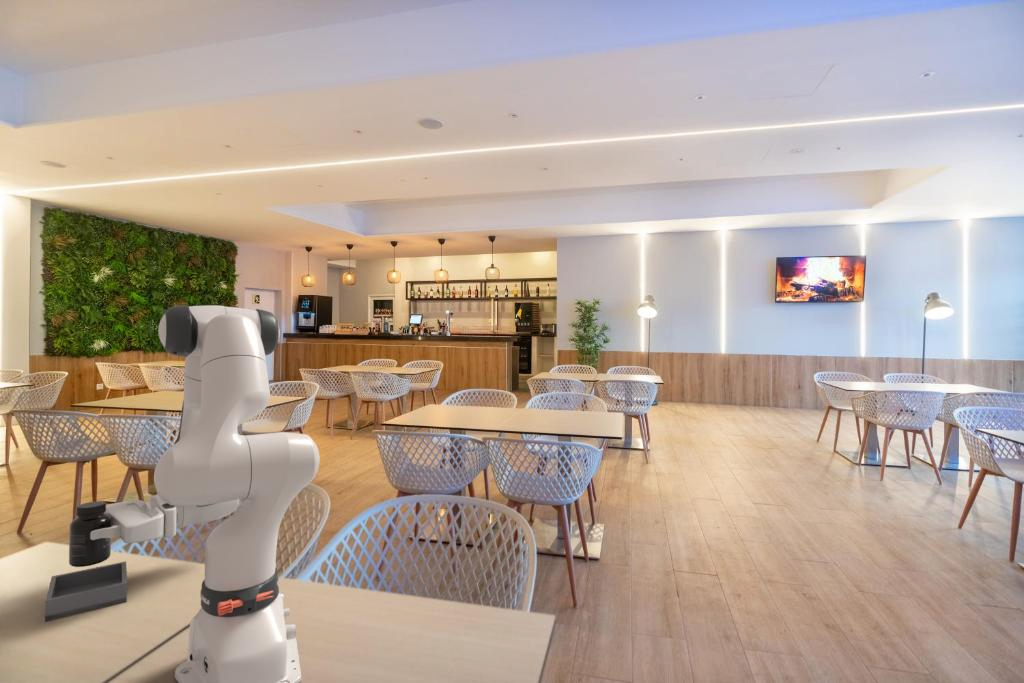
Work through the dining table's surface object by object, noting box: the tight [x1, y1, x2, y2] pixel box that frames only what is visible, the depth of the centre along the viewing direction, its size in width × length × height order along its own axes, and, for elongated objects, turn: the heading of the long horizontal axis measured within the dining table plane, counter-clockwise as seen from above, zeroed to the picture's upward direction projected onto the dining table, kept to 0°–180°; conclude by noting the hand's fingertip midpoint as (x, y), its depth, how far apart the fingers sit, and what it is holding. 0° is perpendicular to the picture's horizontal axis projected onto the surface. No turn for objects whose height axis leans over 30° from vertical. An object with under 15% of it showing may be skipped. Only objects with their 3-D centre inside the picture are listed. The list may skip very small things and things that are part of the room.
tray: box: [44, 560, 128, 623], centre depth 106 cm, size 13×13×4 cm
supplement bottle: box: [68, 500, 112, 568], centre depth 106 cm, size 7×7×12 cm
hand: (85, 530), depth 105 cm, fingers closed on supplement bottle, 7 cm apart
